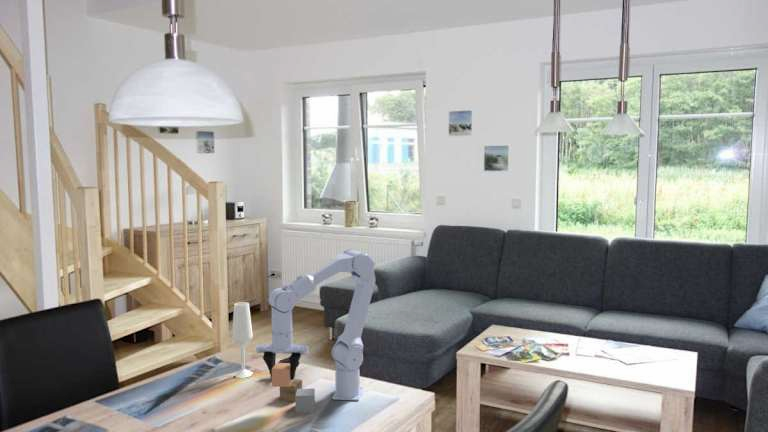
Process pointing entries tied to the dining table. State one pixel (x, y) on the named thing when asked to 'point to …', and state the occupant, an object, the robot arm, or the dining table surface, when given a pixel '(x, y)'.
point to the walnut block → (290, 391)
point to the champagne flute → (242, 333)
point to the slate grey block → (305, 400)
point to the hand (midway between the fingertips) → (283, 378)
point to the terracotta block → (281, 375)
